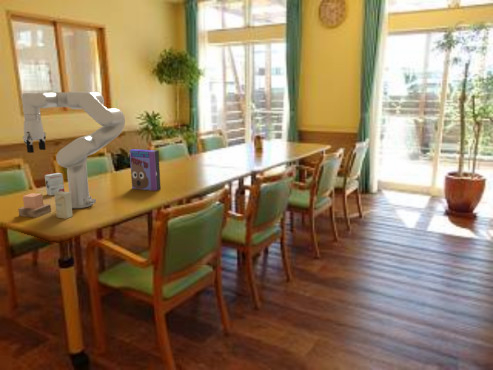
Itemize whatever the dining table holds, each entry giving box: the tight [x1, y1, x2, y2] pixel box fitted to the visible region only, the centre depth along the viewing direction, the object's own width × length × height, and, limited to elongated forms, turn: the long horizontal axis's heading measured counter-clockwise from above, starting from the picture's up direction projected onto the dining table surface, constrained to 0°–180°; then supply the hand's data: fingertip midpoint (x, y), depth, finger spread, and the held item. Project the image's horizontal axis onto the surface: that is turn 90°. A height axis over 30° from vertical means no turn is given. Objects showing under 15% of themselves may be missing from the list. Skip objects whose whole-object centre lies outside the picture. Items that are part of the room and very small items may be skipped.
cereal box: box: [128, 148, 162, 192], centre depth 246 cm, size 17×5×24 cm, turn 68°
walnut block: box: [18, 203, 52, 218], centre depth 201 cm, size 10×10×4 cm
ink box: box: [44, 172, 66, 196], centre depth 238 cm, size 9×5×12 cm, turn 141°
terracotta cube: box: [22, 192, 45, 209], centre depth 199 cm, size 6×6×6 cm
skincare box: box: [54, 191, 73, 220], centre depth 194 cm, size 6×4×12 cm
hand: (36, 151), depth 210 cm, fingers open, 9 cm apart
